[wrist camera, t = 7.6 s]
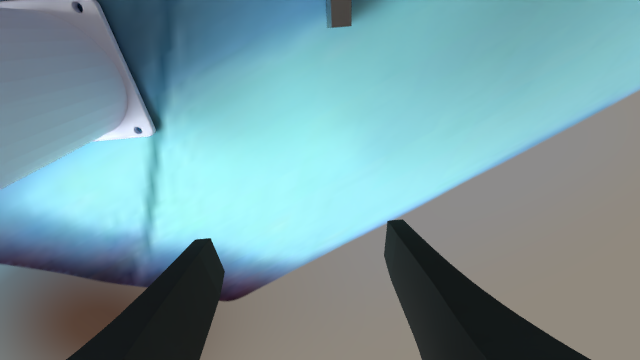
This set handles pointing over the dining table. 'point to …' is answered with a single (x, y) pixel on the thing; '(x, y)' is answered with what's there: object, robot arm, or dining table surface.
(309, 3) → the dining table surface
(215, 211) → the dining table surface
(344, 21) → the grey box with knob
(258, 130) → the dining table surface
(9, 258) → the dining table surface
